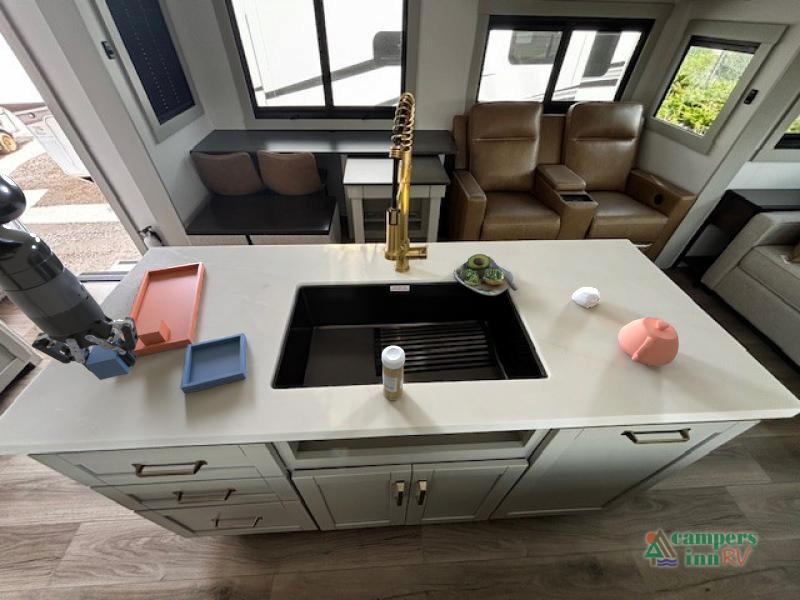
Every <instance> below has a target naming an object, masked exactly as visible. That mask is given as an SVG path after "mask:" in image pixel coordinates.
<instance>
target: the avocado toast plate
mask: <svg viewBox="0 0 800 600" xmlns="http://www.w3.org/2000/svg"><path fill="white" fill-rule="evenodd" d="M453 276H454V279H455V280H456V282H458V284H460V285H461V286H463V287H465V288H467V289H468V290H470V291H473V292H475V293H477V294H479V295H482V296H487V297H496V296H498V295H501V294H502V293H504V292H505V291H507V290H512V291H518V290H519V288H518V286H516V284H515V283H514V280H515V278H514V274H513V273H512V271H510V270H508V269H507V268H505V267H504V266H501V265H499V264H497V262H495V260H494V259H493V258H492V257H490V256H489V255H487V254H483V253H476V254H473V255H471V256H469V257H468V259H467V260H466V261H465V262H464V263H462V264H461V265H459V266H457V267H456V268H455V269H454V270H453Z"/></svg>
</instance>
